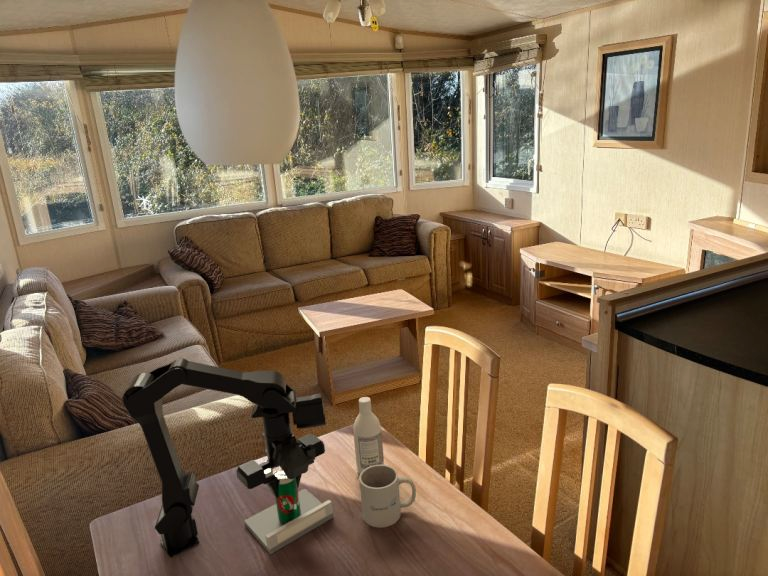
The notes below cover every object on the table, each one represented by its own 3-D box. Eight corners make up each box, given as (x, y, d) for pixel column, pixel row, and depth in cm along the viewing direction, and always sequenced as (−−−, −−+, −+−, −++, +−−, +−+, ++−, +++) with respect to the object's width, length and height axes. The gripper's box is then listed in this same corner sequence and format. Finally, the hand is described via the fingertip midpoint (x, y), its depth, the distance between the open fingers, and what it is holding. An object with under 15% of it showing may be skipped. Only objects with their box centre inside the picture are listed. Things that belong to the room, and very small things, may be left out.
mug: (361, 528, 121) (357, 489, 118) (364, 501, 130) (360, 465, 127) (417, 526, 121) (414, 487, 118) (416, 500, 129) (414, 463, 126)
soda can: (289, 508, 127) (282, 463, 124) (306, 515, 125) (300, 469, 121) (274, 522, 123) (266, 476, 120) (291, 529, 121) (284, 483, 117)
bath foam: (389, 470, 140) (384, 400, 134) (366, 481, 137) (359, 409, 131) (375, 458, 146) (369, 389, 140) (352, 467, 142) (345, 398, 136)
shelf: (270, 555, 116) (268, 538, 114) (244, 525, 125) (242, 509, 124) (334, 517, 125) (332, 502, 124) (305, 492, 134) (303, 477, 133)
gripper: (254, 465, 106) (265, 533, 110) (335, 427, 117) (342, 490, 121) (230, 442, 114) (241, 505, 119) (307, 409, 125) (315, 468, 130)
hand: (286, 492), depth 122 cm, fingers closed on soda can, 4 cm apart
